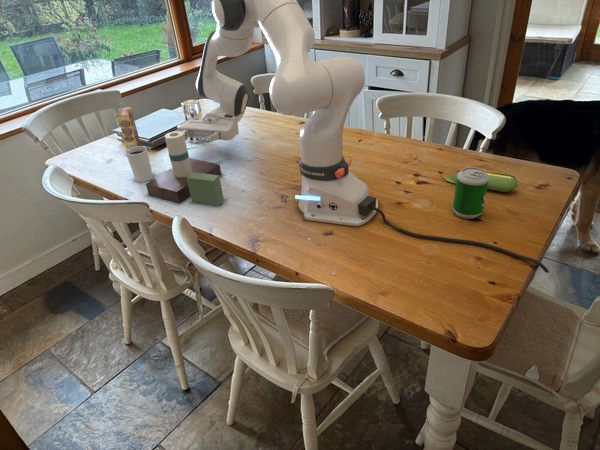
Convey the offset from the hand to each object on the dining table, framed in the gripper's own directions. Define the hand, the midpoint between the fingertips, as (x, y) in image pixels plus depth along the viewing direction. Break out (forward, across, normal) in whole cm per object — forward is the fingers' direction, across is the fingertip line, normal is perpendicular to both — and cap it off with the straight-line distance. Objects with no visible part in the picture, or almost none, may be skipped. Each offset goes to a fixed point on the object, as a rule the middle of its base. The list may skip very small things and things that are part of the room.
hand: (194, 139), depth 140 cm
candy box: (-11, -36, +12) cm, 39 cm away
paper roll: (+14, 0, +6) cm, 16 cm away
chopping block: (+10, 0, +12) cm, 15 cm away
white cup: (+9, -17, +12) cm, 23 cm away
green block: (+18, +13, +12) cm, 25 cm away
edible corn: (-9, +88, +12) cm, 89 cm away
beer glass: (-24, -16, +12) cm, 32 cm away
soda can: (+7, +85, +12) cm, 86 cm away
